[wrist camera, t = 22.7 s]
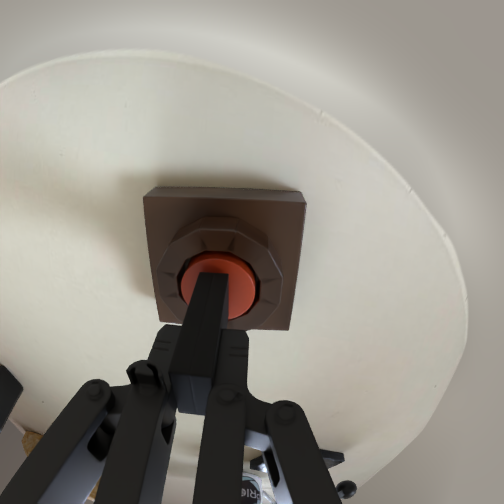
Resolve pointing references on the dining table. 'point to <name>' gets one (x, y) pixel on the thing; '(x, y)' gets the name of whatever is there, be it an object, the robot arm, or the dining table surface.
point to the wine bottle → (8, 394)
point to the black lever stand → (328, 456)
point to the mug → (253, 490)
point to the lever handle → (346, 489)
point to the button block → (227, 245)
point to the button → (223, 263)
